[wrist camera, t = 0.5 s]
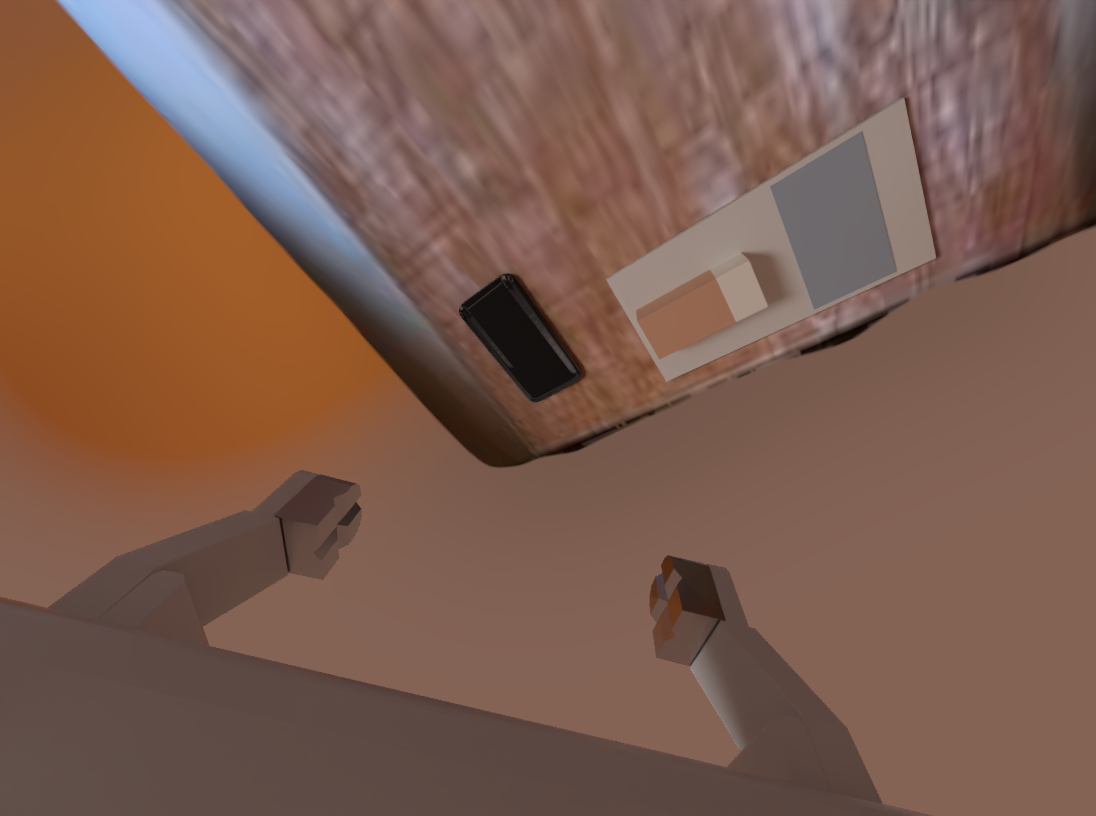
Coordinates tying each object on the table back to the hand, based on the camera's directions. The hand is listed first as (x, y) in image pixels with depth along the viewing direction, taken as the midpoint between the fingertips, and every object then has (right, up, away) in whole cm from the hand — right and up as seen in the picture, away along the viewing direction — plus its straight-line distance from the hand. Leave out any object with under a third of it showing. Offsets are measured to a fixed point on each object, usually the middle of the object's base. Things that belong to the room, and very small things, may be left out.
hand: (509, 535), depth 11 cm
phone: (-2, +11, +38) cm, 39 cm away
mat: (+22, +17, +29) cm, 40 cm away
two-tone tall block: (+16, +14, +31) cm, 38 cm away
